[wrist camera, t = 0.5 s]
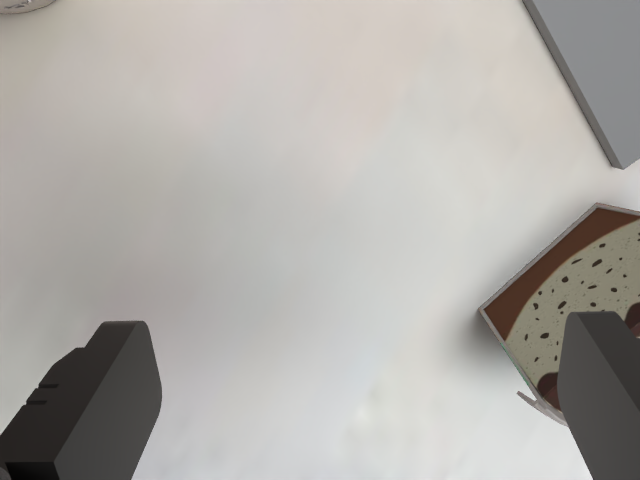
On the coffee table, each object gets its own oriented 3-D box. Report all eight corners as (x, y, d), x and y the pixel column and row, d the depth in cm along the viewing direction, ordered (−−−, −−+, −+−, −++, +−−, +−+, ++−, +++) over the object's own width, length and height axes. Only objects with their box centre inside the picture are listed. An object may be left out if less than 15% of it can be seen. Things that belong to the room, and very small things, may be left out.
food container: (518, 386, 37) (612, 494, 27) (459, 325, 35) (536, 417, 26) (670, 255, 35) (824, 320, 26) (616, 185, 34) (759, 227, 24)
